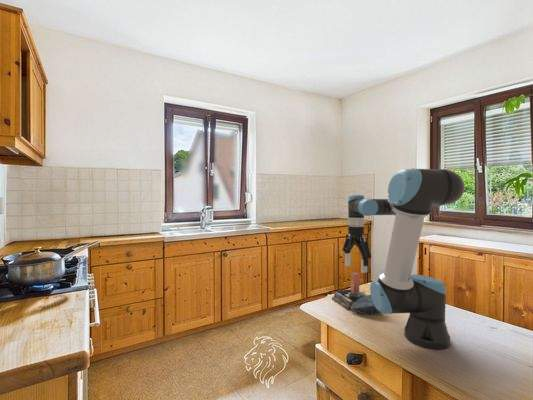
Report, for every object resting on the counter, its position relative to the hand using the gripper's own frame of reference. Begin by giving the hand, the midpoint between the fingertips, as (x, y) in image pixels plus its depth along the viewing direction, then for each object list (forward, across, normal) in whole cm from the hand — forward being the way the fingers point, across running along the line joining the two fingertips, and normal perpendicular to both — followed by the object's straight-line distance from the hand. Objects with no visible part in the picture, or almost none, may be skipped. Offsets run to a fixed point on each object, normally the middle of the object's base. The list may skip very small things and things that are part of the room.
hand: (355, 269), depth 140 cm
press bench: (+17, +2, 0) cm, 17 cm away
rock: (+18, -10, 0) cm, 21 cm away
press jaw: (+16, +1, 0) cm, 16 cm away
